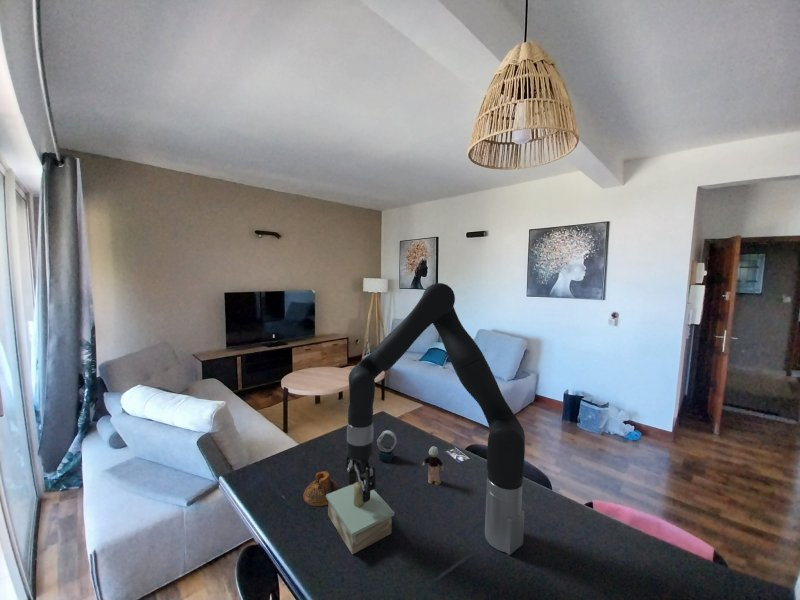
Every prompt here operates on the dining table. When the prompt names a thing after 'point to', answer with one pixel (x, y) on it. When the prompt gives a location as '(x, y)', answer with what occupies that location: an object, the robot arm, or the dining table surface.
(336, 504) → the lid
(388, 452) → the watch
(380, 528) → the box
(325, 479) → the brown rounded piece
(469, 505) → the dining table surface
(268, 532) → the dining table surface
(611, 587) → the dining table surface
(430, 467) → the grandmother figurine
